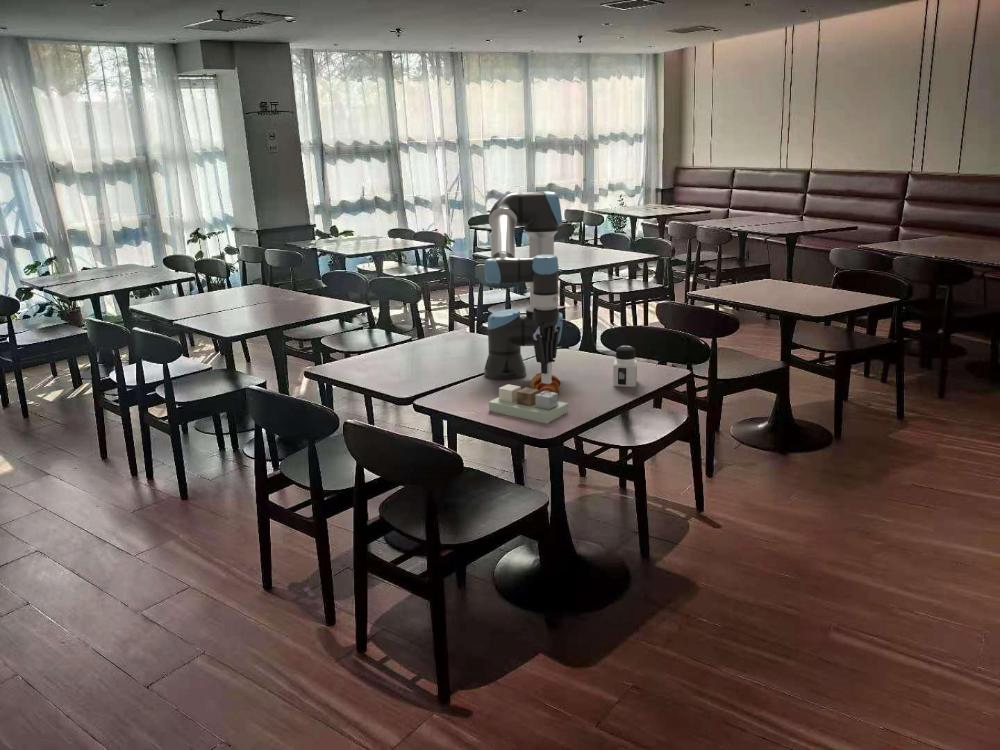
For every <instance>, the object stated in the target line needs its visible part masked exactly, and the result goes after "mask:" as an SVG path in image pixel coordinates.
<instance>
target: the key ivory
mask: <svg viewBox="0 0 1000 750" xmlns="http://www.w3.org/2000/svg"><path fill="white" fill-rule="evenodd" d="M521 389H522V388H521V386H519V385H513V384H510V383H509V384H505V385H503V386H501V387H498V397H499V400H502V401H506V402H511V403H513V402H515V401H517V391H519V390H521Z"/></svg>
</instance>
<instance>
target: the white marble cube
mask: <svg viewBox="0 0 1000 750" xmlns="http://www.w3.org/2000/svg"><path fill="white" fill-rule="evenodd" d="M558 394H559V393H558V392H557V393H553V392H548V391H543V392H541V393H539V394H536V395H535V403H536V408H540V409H544V410H549V411H550V410H552V409H553V408H555V407H557V406H558V401H559V395H558Z"/></svg>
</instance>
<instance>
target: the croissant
mask: <svg viewBox="0 0 1000 750" xmlns="http://www.w3.org/2000/svg"><path fill="white" fill-rule="evenodd" d="M551 376H552V383H550V384H546V383H542V379H541V372H540V373H537V374H535V375H534V376H533V377H532V379H531V380H530V384H529V385H530V386H529V388H532V389H537V390H539V393H541V392H543V391H548V392H553V393H558V391H559V388H560V387H561V385H562V384H561V383H562V382H561V379H559V378H558V377H557V376H556V375H554V374H551Z"/></svg>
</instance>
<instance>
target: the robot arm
mask: <svg viewBox="0 0 1000 750" xmlns="http://www.w3.org/2000/svg"><path fill="white" fill-rule="evenodd" d="M562 217H563V216H562V209H561V203H560V197H559V194H557V192H555V191H545V190H542V191H526V192H525V191H523V192H521V191H520V192H518V191H517V192H516V191H515V192H510V193H508V194H505V195H503V196H501V198H499V199H498V200H497V201H496V202H495V203H494V204H493V206H492V207H491V209H490V212H489V215H488V224H489V228H491V243H490V244H491V248H490V249H491V250H490V257H491V258H486V259H485V260H484V263H483V264H484V266H483V268H484V280H485V282H486V283H488V284H498V285H499V284H509V283H510V284H512V283H514V284H515V283H520V284H521V283H529V305H528V306H527V307H526V308H525V313H521V311H520V310H519V309H516V308H515V309H514V308H509V309H502V310H498V311H495V312H492V313H491V314H490V315H489V316H488V317H487V336H488V337H487V340H488V341H487V343H488V347H487V348H488V355H487V358H486V361H485V365H484V367H483V368H484V369H483V371H484V377H486V378H488V379H490V380H499V381H508V380H510V381H511V380H517V379H520V378H523V377H525V376H526V374H527V368H526V365H525V362H524V359H523V357H522V353H521V349H522V348H521V347H533V349H534V355H535V360H536V363H540V373H541V379H542V383H546V384H550V383H552V376H551V375H552V370H553V369H552V367H553V366H552V365H553V364H552V363H555V362H556V357H557V354H558V353H557V352H558V344H559V343H560V341H561V336H562V330H563V320H564V319H563V313H562V312H559V258H558V256H557V255H555V247H554V246H555V243H554V242H555V235H556V234H557V233H558V232H559V227H561V226H563V218H562ZM517 227H520V228H522V227H524V233H525V234H526V236H528V246H529V248H528V249H529V251H528V252H529V257H516V253H515V252H516V249H515V248H516V247H515V245H516V244H515V242H516V241H515V228H517Z"/></svg>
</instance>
